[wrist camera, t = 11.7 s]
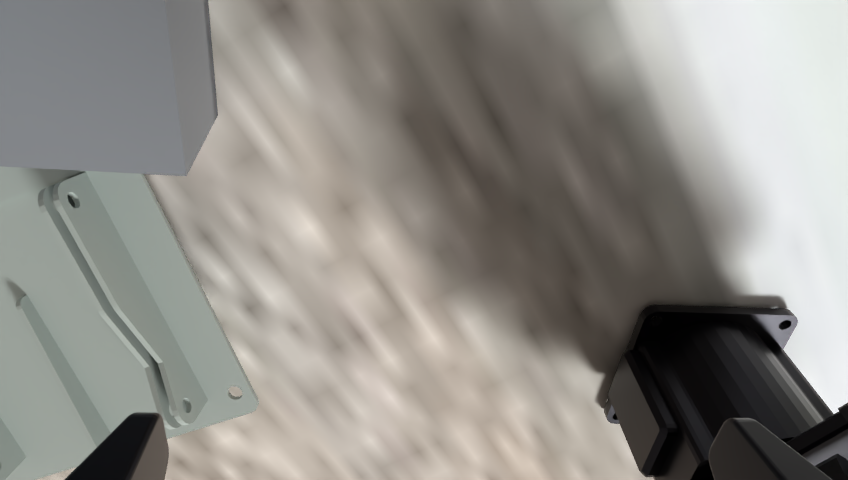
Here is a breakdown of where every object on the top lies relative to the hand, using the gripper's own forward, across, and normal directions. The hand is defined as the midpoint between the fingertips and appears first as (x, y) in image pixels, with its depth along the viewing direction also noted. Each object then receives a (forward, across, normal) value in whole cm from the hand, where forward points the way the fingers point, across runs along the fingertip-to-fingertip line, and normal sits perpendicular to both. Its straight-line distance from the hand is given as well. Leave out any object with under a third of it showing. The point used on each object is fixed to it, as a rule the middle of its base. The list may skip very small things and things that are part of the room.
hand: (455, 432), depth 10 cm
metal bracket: (+13, +12, +7) cm, 19 cm away
